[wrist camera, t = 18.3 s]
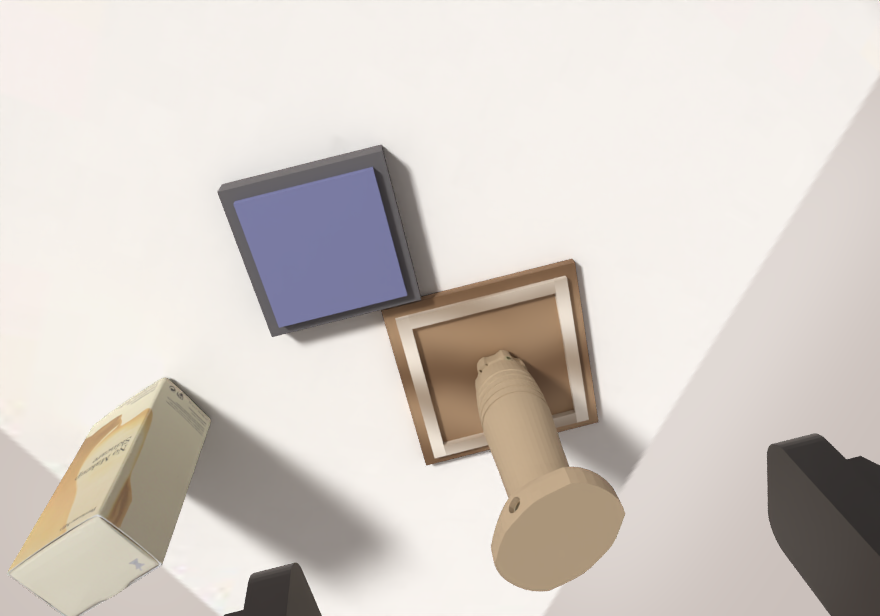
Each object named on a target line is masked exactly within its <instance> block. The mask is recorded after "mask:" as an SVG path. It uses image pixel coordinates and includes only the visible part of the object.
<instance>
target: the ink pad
mask: <svg viewBox="0 0 880 616" xmlns="http://www.w3.org/2000/svg"><path fill="white" fill-rule="evenodd" d="M218 195H219V198H220V200H221V203H222V206H223V208H224V211H225V214H226V216H227V219H228V222H229V224H230V227H231V229H232V232H233V235H234V237H235V240H236V243H237V245H238V248H239V251H240V253H241V256H242V259H243V261H244V264H245V267H246V269H247V272H248V275H249V277H250V280H251V283H252V285H253V288H254V291H255V293H256V296H257V298H258V301H259V304H260V306H261V309H262V312H263V314H264V317H265V320H266V322H267V325H268V328H269V330H270V333H271V336H272V337H274V336H278V335H282V334H286V333H290V332H294V331H298V330H302V329H306V328H310V327H314V326H318V325H322V324H326V323H330V322H334V321H338V320H342V319H346V318H350V317H354V316H358V315H362V314H366V313H370V312H374V311H378V310H382V309H386V308H390V307H394V306H398V305H402V304H406V303H410V302H414V301H418V300H421V297H420V292H419V288H418V284H417V280H416V276H415V272H414V269H413V265H412V261H411V257H410V253H409V249H408V245H407V242H406V238H405V234H404V230H403V226H402V222H401V219H400V215H399V211H398V207H397V203H396V199H395V196H394V192H393V188H392V184H391V180H390V176H389V172H388V169H387V165H386V161H385V157H384V153H383V149H382V146H381V145H378V146H374V147H370V148H366V149H362V150H358V151H354V152H350V153H346V154H342V155H338V156H334V157H330V158H326V159H322V160H318V161H314V162H310V163H306V164H302V165H298V166H294V167H290V168H286V169H282V170H278V171H274V172H270V173H266V174H262V175H258V176H254V177H250V178H246V179H242V180H238V181H234V182H230V183H226V184H222V185H221V187H220V189H219V190H218Z"/></svg>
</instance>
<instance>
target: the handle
mask: <svg viewBox="0 0 880 616" xmlns="http://www.w3.org/2000/svg"><path fill="white" fill-rule="evenodd" d="M477 371H478V377H477V378H476V380H475V387H476V397H477V406H478V412H479V417H480V421H481V425H482V429H483V432H484V435H485V438H486V440H487V443H488V445H489V448H490V450H491V453H492V455H493V458H494V461H495V463H496V466H497V468H498V471H499V473H500V476H501V479H502V482H503V484H504V487H505V490H506V492H507V495H508V498H509V499H508V500H507V502H506V503H505V505H504V507H503V509H502V511H501V514H500V516H499V519H498V521H497V524H496V528H495V531H494V535H493V539H492V544H491V551H492V555H493V560H494V564H495V566H496V569H497V571H498V572H499V574H500V575H501V576H502V577H503V578H504V579H505V580H507V581H508V582H510V583H512V584H513V585H515V586H518V587H520V588H523V589H526V590H531V591H550V590H552V589H554V588H556V587H558V586H561V585H563V584H565V583H567V582H569V581H571V580H573V579H575V578H577V577H578V576H580V575H582V574H584V573H585V572H586V571H587V570H588V569H590V568H591V567H592V566H593V565H594V564H595V563H596V562H597V561H598V560H599V559H600V558H601V557H602V556H603V555H604V554H605V553H606V552H607V550H608V549H609V548H610V547H611V546H612V544H613V542H614V541H615V539H616V537H617V534H618V532H619V529H620V526H621V524H622V521H623V518H624V516H625V512H624V509H623V506H622V505H621V502H620V500H619V498H618V497H617V495H616V493H615V491H614V489H613V488H612V486H611V485H610V484H609V483H608V482H607V481H606V480H605V479H604V478H602V477H601V476H600V475H598V474H596V473H594V472H592V471H590V470H587V469H583V468H580V467H569V465H568V462H567V459H566V456H565V454H564V451H563V448H562V445H561V442H560V439H559V436H558V433H557V430H556V427H555V424H554V420H553V417H552V414H551V411H550V409H549V407H548V404H547V402H546V400H545V398H544V395H543V393H542V392H541V390H540V388H539V386H538V385H537V383H536V382H535V380H534V379H533V377H532V376H531V374H530V373H529V372H528V370H527V368H526V366H525V364H524V363H523V361H522V360H521V359H519V358H514V357H512V356H511V355H510V354H509V352H508V351H506V350H499V352H497V353H496V354H494V355H492V356H489V357H482V358H481V359H480V360H479V361H478V363H477Z"/></svg>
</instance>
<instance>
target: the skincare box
mask: <svg viewBox="0 0 880 616" xmlns="http://www.w3.org/2000/svg"><path fill="white" fill-rule="evenodd" d="M210 423H211V420H210V418H209V417H208V416H206V414H205V413H204V412H203V411H202V410H201V409H200V408H199V407H198V406H197V405H196V404H195V403H194V402H193V401H192V400H191V399H190V398H189V397H188V396H186V395H185V394H184V393H183V392H182V391H181V390H180V389H179V388H178V387H177V386H176V385H175V384H173V383H172V382H171V381H170V380H169V379H168V378H162V379H160V380H159V381H157V382H155V383H154V384H152V385H151V386H149V387H148V388H146V389H144V390H143V391H141V392H140V393H138V394H137V395H135V396H134V397H132V398H131V399H129V400H128V401H126V402H125V403H123V404H122V405H120V406H119V407H118V408H116V409H115V410H114V411H112V412H111V413H109V414H108V415H107V416H105V417H104V418H103V419H101V420H100V421H99V422H97V423H96V424H95V425H94V426H93V427H92V429H91V430H90V432H89V434H88V435H87V437H86V439H85V441H84V443H83V444H82V446H81V448H80V449H79V451H78V453H77V455H76V457H75V458H74V460H73V462H72V463H71V465H70V467H69V468H68V470H67V472H66V473H65V475H64V477H63V478H62V480H61V482H60V484H59V486H58V487H57V489H56V491H55V492H54V494H53V496H52V497H51V499H50V501H49V503H48V505H47V506H46V508H45V509H44V511H43V513H42V514H41V516H40V518H39V519H38V521H37V523H36V525H35V526H34V528H33V530H32V531H31V533H30V535H29V536H28V538H27V540H26V542H25V543H24V545H23V547H22V549H21V550H20V552H19V554H18V555H17V557H16V559H15V560H14V562H13V564H12V565H11V567H10V569H9V571H8V572H7V575H8V576H10V577H11V578H12V579H14V580H15V581H17V582H18V583H19V584H21V585H22V586H23V587H25V588H26V589H27V590H29V591H30V592H32V593H33V594H34V595H35V596H37V597H38V598H39V599H41V600H42V601H44V602H45V603H46V604H48V605H49V606H50V607H52V608H53V609H54V610H56V611H57V612H59V613H60V614H61V615H63V616H81V615H83V614H84V613H86V612H88V611H89V610H91V609H93V608H94V607H96V606H98V605H99V604H101V603H102V602H104V601H106V600H107V599H109V598H111V597H113V596H115V595H116V594H118V593H119V592H121V591H122V590H124V589H125V588H127V587H128V586H130V585H131V584H133V583H135V582H136V581H138V580H139V579H141V578H142V577H144V576H146V575H147V574H149V573H151V572H152V571H153V570H155V569H157V568H159V567H160V566H161V565H162V564H163V561H164V558H165V555H166V552H167V549H168V546H169V543H170V540H171V537H172V534H173V531H174V529H175V526H176V523H177V520H178V517H179V514H180V511H181V508H182V505H183V502H184V499H185V496H186V493H187V490H188V487H189V484H190V481H191V479H192V476H193V473H194V470H195V467H196V464H197V461H198V458H199V455H200V452H201V449H202V447H203V443H204V441H205V438H206V435H207V432H208V429H209V426H210Z"/></svg>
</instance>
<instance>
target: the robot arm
mask: <svg viewBox="0 0 880 616" xmlns="http://www.w3.org/2000/svg"><path fill="white" fill-rule="evenodd" d="M767 477H768V478H767V479H768V480H767V481H768V516H769V521H770V525H771V528H772V531H773V533H774V536H775V538H776V540H777V542H778V544H779V546H780V548H781V549H782V551H783V552H784V553H785V555H786V556H787V557H788V559H789V560H790V562H791V563H792V564H793V566H794V567H795V568H796V570H797V571H798V572H799V574H800V575H801V576H802V578H803V579H804V580H805V582H806V583H807V584H808V586H809V587H810V588H811V590H812V591H813V592H814V594H815V595H816V596H817V598H818V599H819V600H820V602H821V603H822V604H823V606H824V607H825V608H826V610H827V611H828V612H829V614H830V615H831V616H880V465H878V464H876V463H874V462H871V461H870V460H868V459H866V458H864V457H862V456H859V457H855V458H851V459H845V458H844V457H843V456H842V455H841V454H840V453H839V452H838V451H837V450H836V449H835V448H834V447H833V446H832V445H831V444H830V443H829V442H828V441H827V440H826V439H825V438H824V437H822V436H821V435H819V434H810V435H807V436H802V437H799V438H794V439H791V440H787V441H783V442H779V443H775V444H771V445H770V446H769V448H768V451H767ZM224 616H322V615H321V613H320V611H319V608H318V606H317V604H316V601H315V599H314V597H313V594H312V592H311V590H310V587H309V585H308V583H307V580H306V578H305V576H304V573H303V571H302V569H301V567H300V566H299V564H298V563H292V564H288V565H284V566H280V567H276V568H272V569H268V570H264V571H260V572H256V573H253V574H252V575H251V576H250V578H249V582H248V587H247V592H246V598H245V604H244V610H241V611H237V612H233V613H229V614H225V615H224Z"/></svg>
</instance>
